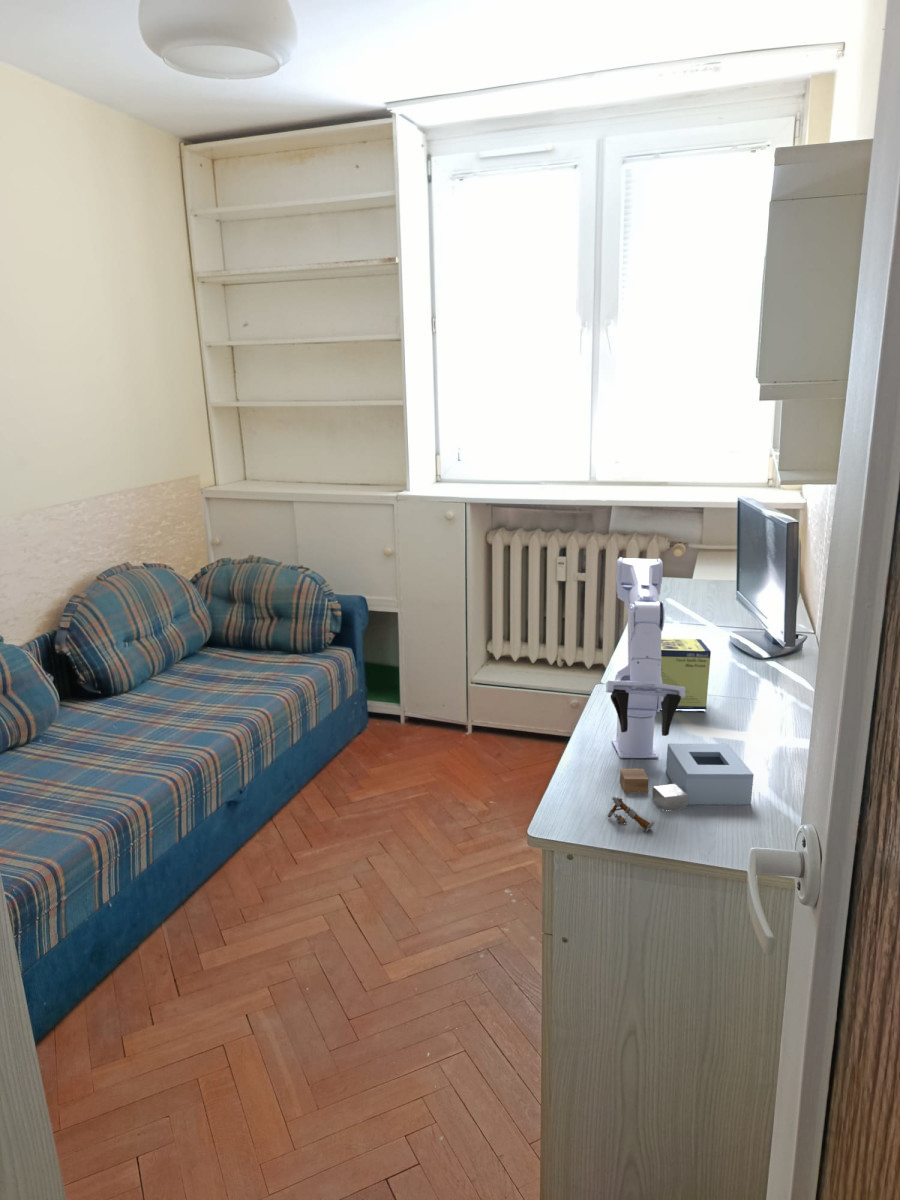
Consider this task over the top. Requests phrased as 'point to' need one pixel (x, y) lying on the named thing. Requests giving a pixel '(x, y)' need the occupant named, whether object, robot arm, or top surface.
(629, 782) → the brown wooden block
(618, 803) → the wooden post with brackets
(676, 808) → the white square block
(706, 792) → the grey box with hole
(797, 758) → the top surface
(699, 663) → the protein box
